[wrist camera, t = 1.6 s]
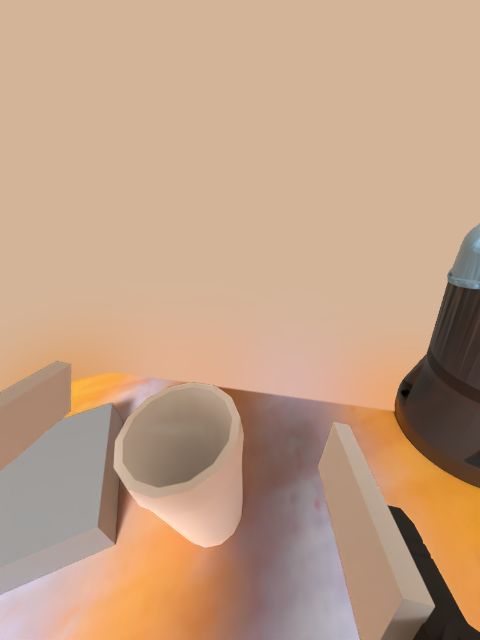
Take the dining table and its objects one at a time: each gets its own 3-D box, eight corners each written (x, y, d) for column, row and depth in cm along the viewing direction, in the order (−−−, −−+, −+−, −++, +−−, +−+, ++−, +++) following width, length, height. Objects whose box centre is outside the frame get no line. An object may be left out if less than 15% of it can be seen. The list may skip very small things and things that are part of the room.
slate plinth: (123, 421, 38) (112, 402, 36) (115, 544, 25) (97, 527, 23) (5, 462, 35) (-14, 444, 33) (-68, 624, 22) (-108, 612, 20)
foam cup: (204, 449, 32) (176, 370, 25) (273, 486, 28) (261, 403, 21) (145, 531, 26) (86, 456, 19) (222, 598, 21) (180, 531, 14)
